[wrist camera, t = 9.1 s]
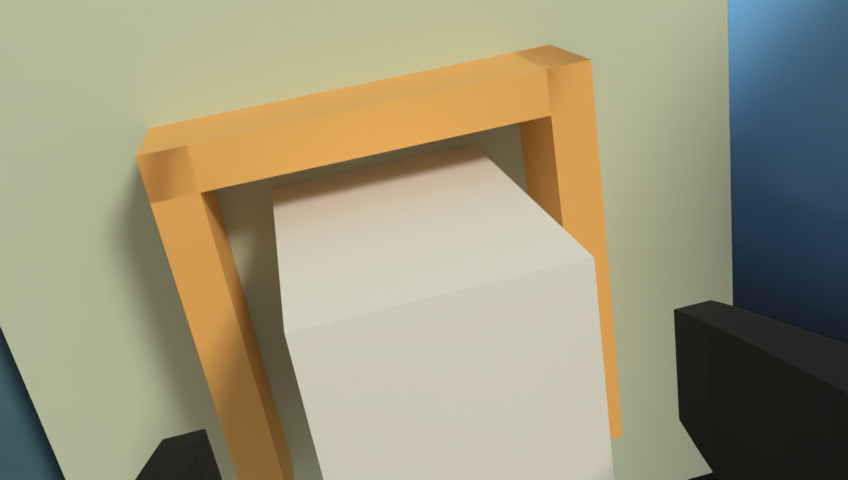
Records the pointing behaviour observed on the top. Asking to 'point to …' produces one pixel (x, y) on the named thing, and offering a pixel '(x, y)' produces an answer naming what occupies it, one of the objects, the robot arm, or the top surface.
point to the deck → (323, 156)
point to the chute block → (441, 325)
